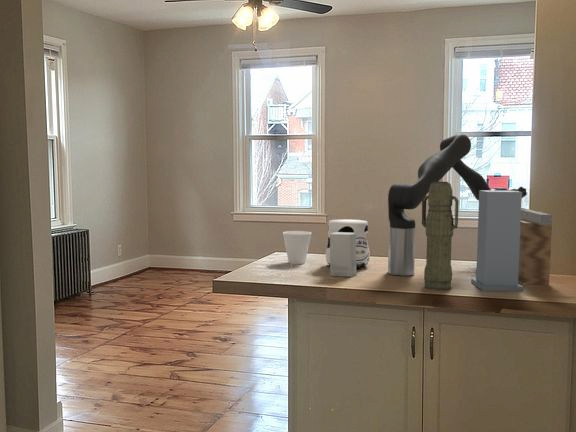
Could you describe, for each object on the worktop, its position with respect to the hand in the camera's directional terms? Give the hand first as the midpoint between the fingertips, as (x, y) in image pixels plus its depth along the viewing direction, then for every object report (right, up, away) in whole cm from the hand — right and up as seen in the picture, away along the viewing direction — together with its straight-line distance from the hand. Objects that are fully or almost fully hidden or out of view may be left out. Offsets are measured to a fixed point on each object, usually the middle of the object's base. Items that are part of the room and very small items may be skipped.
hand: (509, 190), depth 224 cm
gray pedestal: (-12, -33, -21) cm, 41 cm away
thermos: (-32, -33, -22) cm, 51 cm away
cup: (-78, -29, +24) cm, 87 cm away
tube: (+3, -11, -11) cm, 16 cm away
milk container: (-58, -30, +16) cm, 67 cm away
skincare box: (-62, -31, -2) cm, 69 cm away
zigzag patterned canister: (+3, -32, -9) cm, 34 cm away
